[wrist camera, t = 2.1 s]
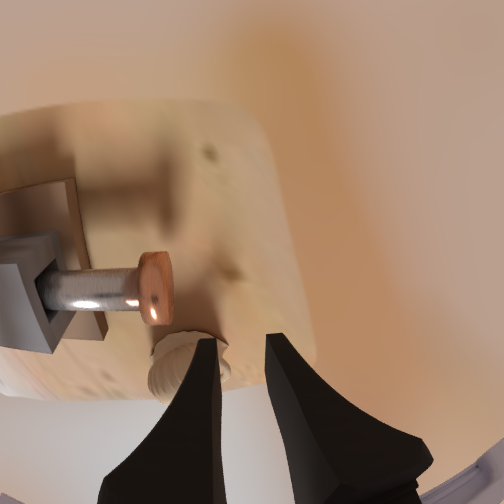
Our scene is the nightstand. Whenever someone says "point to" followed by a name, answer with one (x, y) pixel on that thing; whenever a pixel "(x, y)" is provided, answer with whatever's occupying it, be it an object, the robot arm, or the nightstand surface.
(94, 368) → the nightstand surface
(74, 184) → the housing
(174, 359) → the cream ribbed curved piece
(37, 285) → the shaft
